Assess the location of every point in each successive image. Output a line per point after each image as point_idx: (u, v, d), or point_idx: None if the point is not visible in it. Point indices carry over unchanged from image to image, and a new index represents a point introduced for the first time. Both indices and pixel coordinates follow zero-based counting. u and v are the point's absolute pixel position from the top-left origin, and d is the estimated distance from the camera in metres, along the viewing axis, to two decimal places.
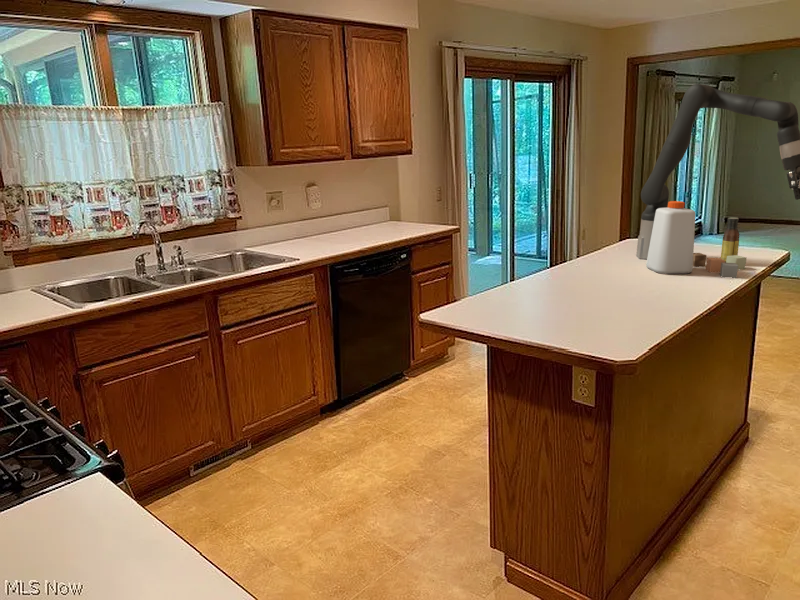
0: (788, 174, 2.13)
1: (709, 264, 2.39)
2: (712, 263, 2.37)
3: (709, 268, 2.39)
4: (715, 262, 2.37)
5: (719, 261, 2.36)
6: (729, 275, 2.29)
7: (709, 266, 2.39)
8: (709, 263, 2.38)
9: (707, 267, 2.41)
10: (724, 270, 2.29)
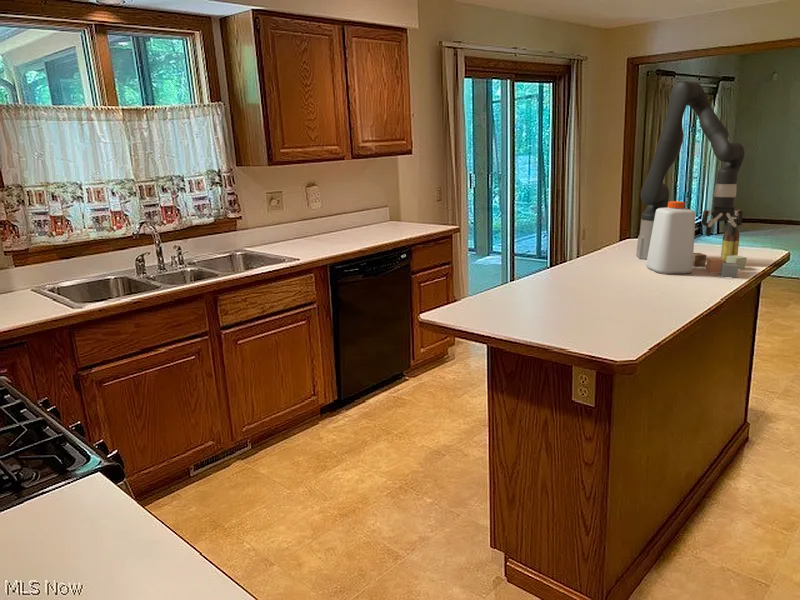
0: (703, 212, 2.35)
1: (709, 264, 2.39)
2: (712, 263, 2.37)
3: (709, 268, 2.39)
4: (715, 262, 2.37)
5: (719, 261, 2.36)
6: (729, 275, 2.29)
7: (709, 266, 2.39)
8: (709, 263, 2.38)
9: (707, 267, 2.41)
10: (724, 270, 2.29)
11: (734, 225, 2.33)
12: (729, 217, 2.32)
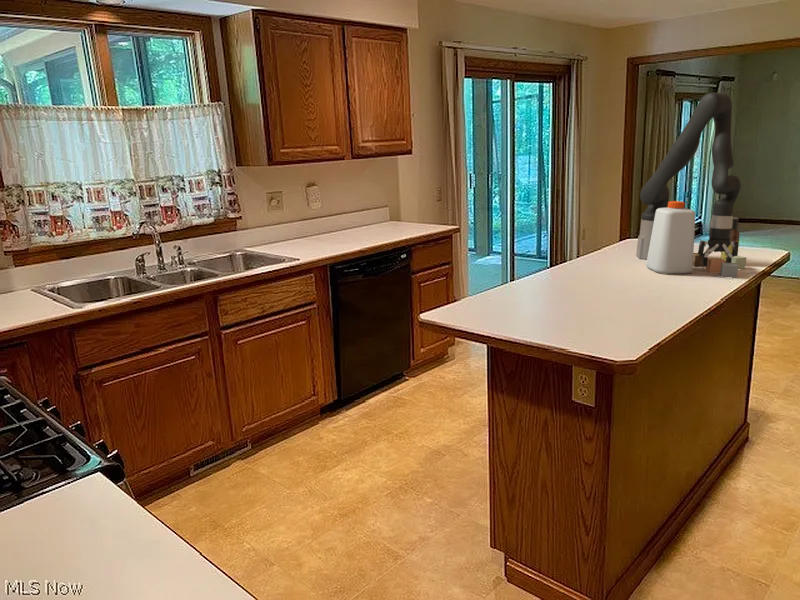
0: (700, 242, 2.38)
1: (709, 264, 2.39)
2: (712, 263, 2.37)
3: (709, 268, 2.39)
4: (715, 262, 2.37)
5: (719, 261, 2.36)
6: (729, 275, 2.29)
7: (709, 266, 2.39)
8: (709, 263, 2.38)
9: (707, 267, 2.41)
10: (724, 270, 2.29)
11: (730, 256, 2.36)
12: (725, 248, 2.35)
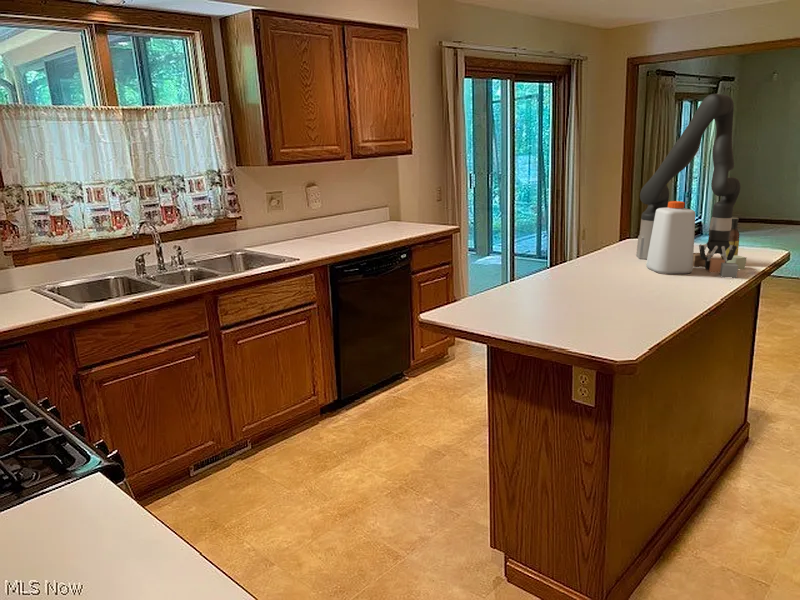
0: (699, 247, 2.39)
1: None
2: (712, 263, 2.37)
3: (709, 268, 2.38)
4: (715, 262, 2.37)
5: (719, 261, 2.36)
6: (729, 275, 2.29)
7: None
8: (710, 263, 2.38)
9: None
10: (724, 270, 2.29)
11: (725, 260, 2.37)
12: (723, 250, 2.36)
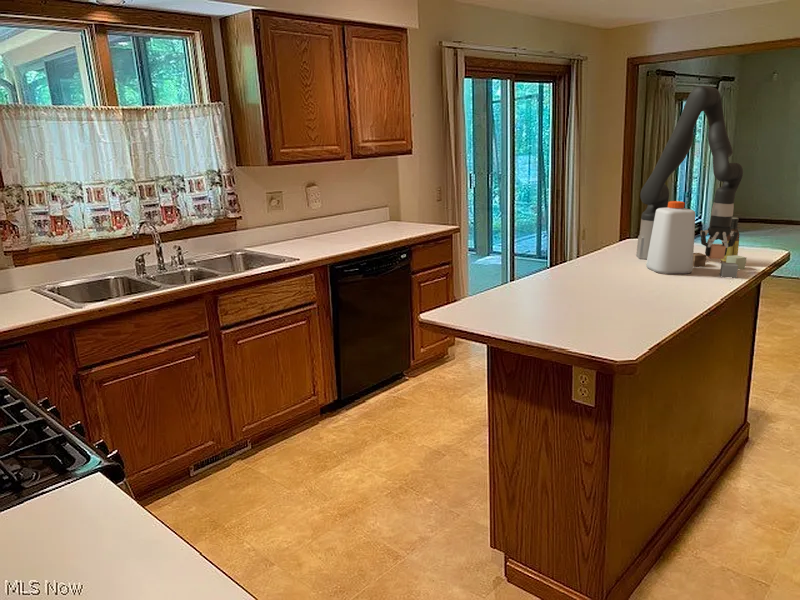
0: (700, 232, 2.38)
1: None
2: (713, 249, 2.36)
3: (710, 254, 2.37)
4: (715, 248, 2.35)
5: (720, 247, 2.35)
6: (729, 275, 2.29)
7: (710, 252, 2.37)
8: None
9: None
10: (724, 270, 2.29)
11: (726, 246, 2.36)
12: (724, 236, 2.34)
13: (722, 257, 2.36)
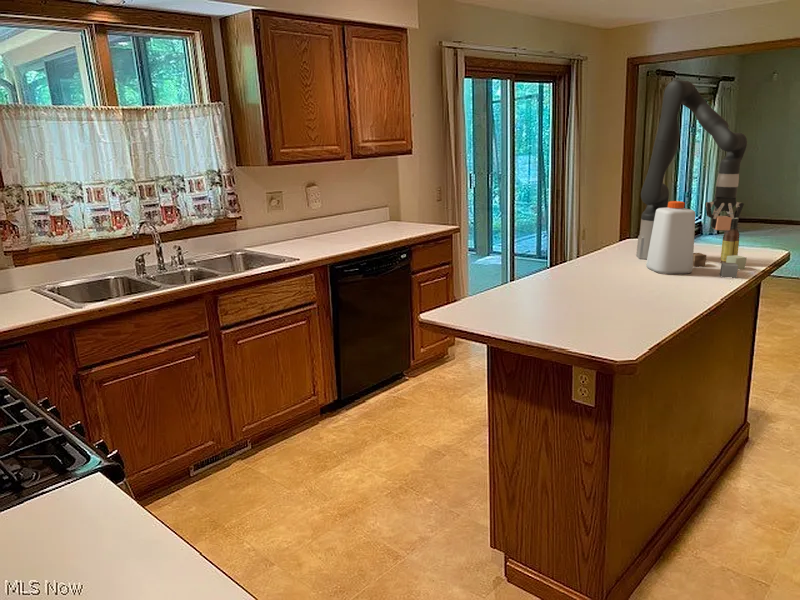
0: (705, 204, 2.36)
1: (716, 222, 2.36)
2: (718, 220, 2.34)
3: (716, 226, 2.36)
4: (721, 219, 2.34)
5: (726, 218, 2.34)
6: (729, 275, 2.29)
7: (716, 224, 2.36)
8: (716, 221, 2.36)
9: None
10: (724, 270, 2.29)
11: (731, 217, 2.34)
12: (730, 207, 2.33)
13: (728, 228, 2.34)
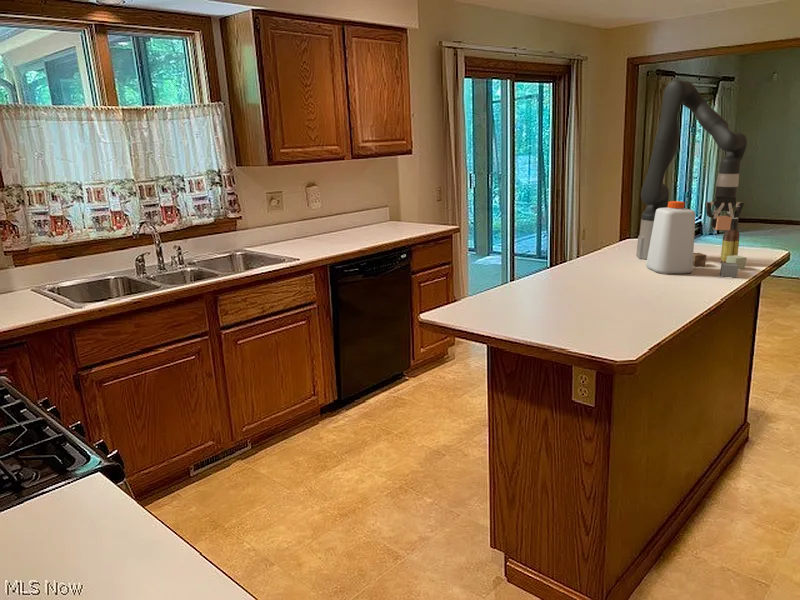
0: (705, 204, 2.36)
1: (716, 222, 2.36)
2: (719, 220, 2.34)
3: (716, 225, 2.36)
4: (721, 219, 2.34)
5: (726, 218, 2.34)
6: (729, 275, 2.29)
7: (716, 224, 2.36)
8: (716, 221, 2.36)
9: None
10: (724, 270, 2.29)
11: None
12: (730, 207, 2.33)
13: (728, 228, 2.34)
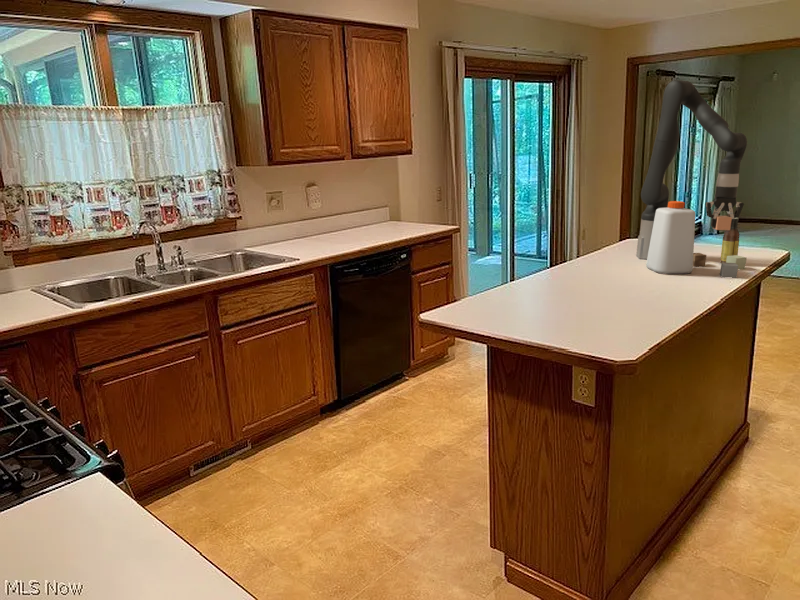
0: (705, 204, 2.36)
1: (716, 222, 2.36)
2: (719, 220, 2.34)
3: (716, 225, 2.36)
4: (721, 219, 2.34)
5: (726, 218, 2.34)
6: (729, 275, 2.29)
7: (716, 224, 2.36)
8: (716, 221, 2.36)
9: None
10: (724, 270, 2.29)
11: None
12: (730, 207, 2.33)
13: (728, 228, 2.34)
